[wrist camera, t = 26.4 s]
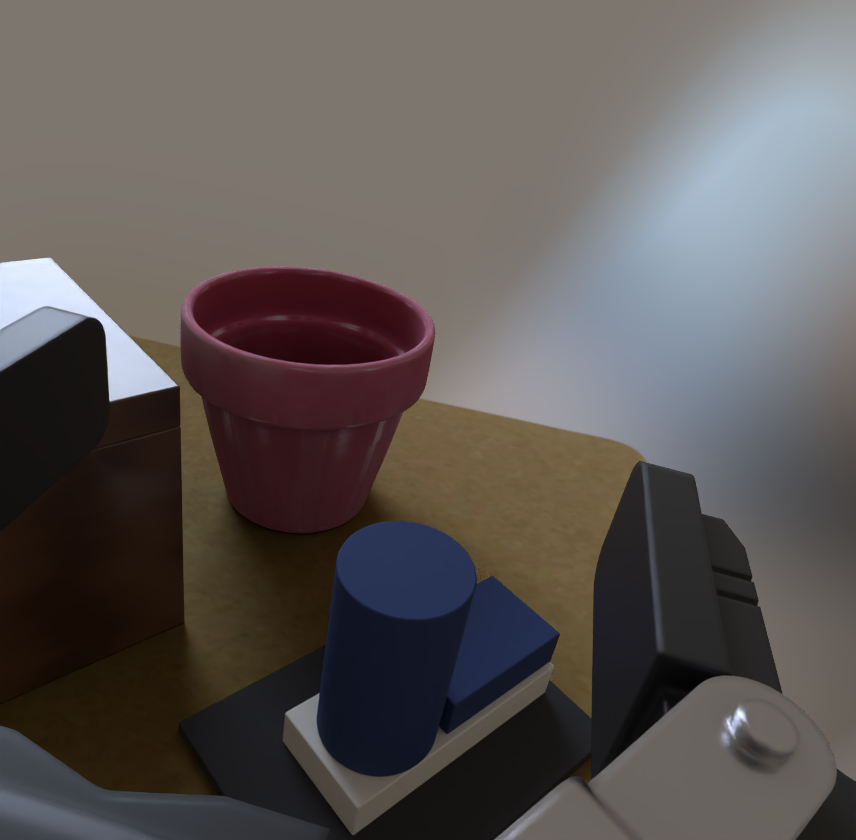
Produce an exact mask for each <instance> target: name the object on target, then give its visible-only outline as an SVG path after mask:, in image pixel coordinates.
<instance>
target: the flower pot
mask: <svg viewBox="0 0 856 840" xmlns="http://www.w3.org/2000/svg"><path fill="white" fill-rule="evenodd" d="M434 337H435V327H434V323H433V321H432V319H431V317H430V316H429V315H428V313H427V312H426V311H425V310H424V309H423V308H422V307H421V306H420V305H419V304H418V303H416V302H415V301H414V300H412V299H411V298H409V297H407V296H406V295H404V294H402V293H400V292H399V291H396V290H394V289H392V288H390V287H388V286H385V285H382V284H380V283H377V282H374V281H371V280H368V279H365V278H361V277H357V276H354V275H349V274H345V273H340V272H335V271H329V270H322V269H315V268H303V267H280V266H279V267H259V268H248V269H242V270H237V271H232V272H227V273H224V274H220V275H217V276H214V277H212V278H210V279H208V280H206V281H204V282H202V283H200V284H199V285H197V286H196V287H194V288H193V289H192V290H191V291H190V292H189V293H188V294H187V296H186V298H185V299H184V301H183V304H182V308H181V363H182V369H183V372H184V374H185V377H186V379H187V380H188V382H189V384H190V385H191V386H192V387H193V389H194V390H195V391H196V392H197V393H199V394H200V395H201V396H202V400H203V405H204V409H205V413H206V417H207V421H208V425H209V430H210V434H211V437H212V441H213V445H214V449H215V452H216V456H217V459H218V463H219V466H220V470H221V473H222V477H223V481H224V484H225V488H226V493H227V495H228V498H229V500H230V502H231V504H232V505H233V506H234V507H235V509H236V510H237V511H238V512H239V513H240V514H242V515H243V516H244V517H246V518H247V519H249V520H250V521H252V522H254V523H256V524H258V525H261V526H263V527H266V528H270V529H274V530H277V531H283V532H291V533H312V532H319V531H324V530H328V529H332V528H335V527H338V526H340V525H342V524H344V523H346V522H347V521H349V520H350V519H352V518H353V517H354V516H355V515H356V514H357V513H358V512H359V511H360V510H361V509H362V507H363V506H364V504H365V501H366V499H367V496H368V494H369V492H370V489H371V487H372V484H373V482H374V480H375V478H376V475H377V473H378V471H379V469H380V467H381V464H382V462H383V460H384V457H385V455H386V453H387V450H388V448H389V446H390V443H391V441H392V438H393V436H394V433H395V431H396V428H397V426H398V424H399V421H400V418H401V416H402V413H403V412H404V411H405V410H407V409H408V408H410V407H411V406H412V405H413V404H415V403H416V401H417V400H418V399H419V398H420V396H421V395H422V393H423V391H424V389H425V386H426V381H427V377H428V372H429V367H430V361H431V356H432V350H433V345H434Z"/></svg>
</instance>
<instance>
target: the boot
mask: <svg viewBox="0 0 856 840" xmlns="http://www.w3.org/2000/svg"><path fill="white" fill-rule="evenodd" d="M476 581H477V578H476V571H475V567H474V564H473V562H472V560H471V558H470V556H469V555H468V553H467V552H466V551H465V549H464V548H463V547H462V546H461V545H460V544H459V543H458V542H456V541H455V540H454V539H453V538H451V537H450V536H448V535H446V534H445V533H443V532H441V531H439V530H437V529H434V528H432V527H429V526H426V525H423V524H418V523H413V522H406V521H387V522H380V523H376V524H372V525H369V526H366V527H364V528H362V529H360V530H358V531H357V532H355V533H354V534H352V535H351V536H350V537H349V538H348V539H347V540H346V541H345V542H344V544H343V545H342V546H341V548H340V550H339V552H338V555H337V560H336V567H335V575H334V583H333V591H332V599H331V607H330V615H329V623H328V631H327V638H326V646H325V654H324V662H323V670H322V678H321V686H320V693H319V694H317V695H315V696H314V697H312V698H310V699H308V700H307V701H305V702H303V703H301V704H300V705H298V706H296V707H294V708H293V709H291V710H289V711H287V712H286V713H285V722H284V733H283V742H284V743H285V745H286V746H287V747H288V749H289V750H290V751H291V753H292V754H293V755H294V757H295V758H296V760H297V761H298V762H299V764H300V765H301V766H302V768H303V769H304V770H305V772H306V773H307V775H308V776H309V777H310V779H311V780H312V781H313V783H314V784H315V785H316V787H317V788H318V789H319V791H320V792H321V794H322V795H323V796H324V798H325V799H326V800H327V802H328V803H329V804H330V806H331V807H332V809H333V810H334V811H335V813H336V814H337V815H338V817H339V818H340V819H341V821H342V822H343V823H344V825H345V826H346V828H347V829H348V830H349V832H350V833H351V834H352V835H355V834H356V833H357V832H359V831H360V830H361V829H363V828H364V827H365V826H367V825H368V824H369V823H371V822H372V821H373V820H375V819H376V818H377V817H379V816H380V815H381V814H383V813H384V812H385V811H387V810H388V809H389V808H391V807H392V806H393V805H395V804H396V803H397V802H399V801H400V800H401V799H403V798H404V797H405V796H407V795H408V794H409V793H411V792H412V791H413V790H415V789H416V788H417V787H419V786H420V785H421V784H423V783H424V782H426V781H427V780H428V779H430V778H431V777H432V776H434V775H435V774H436V773H438V772H439V771H440V770H442V769H443V768H444V767H446V766H447V765H448V764H450V763H451V762H452V761H454V760H455V759H456V758H458V757H459V756H460V755H462V754H463V753H464V752H466V751H467V750H468V749H470V748H471V747H472V746H474V745H475V744H476V743H478V742H479V741H480V740H482V739H483V738H484V737H486V736H487V735H488V734H490V733H491V732H492V731H494V730H495V729H496V728H498V727H499V726H500V725H502V724H503V723H504V722H506V721H507V720H509V719H510V718H511V717H513V716H514V715H515V714H517V713H518V712H519V711H521V710H522V709H523V708H525V707H526V706H527V705H529V704H530V703H531V702H533V701H534V700H535V699H537V698H538V697H539V696H541V695H542V694H543V693H545V691H546V688H547V685H548V682H549V680H550V677H551V674H552V672H553V669H554V665H552V664H551V663H550V660H551V658H552V655H553V652H554V649H555V647H556V644H557V641H558V638H559V636H560V634H559V632H557V631H556V630H555V629H554V628H553V627H552V626H550V625H549V624H548V623H547V622H546V621H545V620H543V619H542V618H541V617H540V616H539V615H538V614H536V613H535V612H534V611H533V610H532V609H531V608H529V607H528V606H527V605H526V604H525V603H524V602H522V601H521V600H520V599H519V598H518V597H517V596H515V595H514V594H513V593H512V592H511V591H510V590H508V589H507V588H506V587H505V586H504V585H503V584H501V583H500V582H499V581H498V580H497V579H496V578H494V577H493V576H491V577H489V578H487V579H486V580H484V581H482V582H480V583H478V584H477V585H476Z"/></svg>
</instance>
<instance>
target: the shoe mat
mask: <svg viewBox="0 0 856 840" xmlns="http://www.w3.org/2000/svg"><path fill="white" fill-rule="evenodd" d="M325 646H326V645H325ZM325 646H323V647H321V648H319V649H317V650H315V651H313V652H312V653H310V654H308V655H306V656H304V657H302V658H300V659H298V660H296V661H294V662H293V663H291V664H289V665H287V666H285V667H283V668H281V669H279V670H277V671H276V672H274V673H272V674H270V675H268V676H266V677H264V678H262V679H260V680H259V681H257V682H255V683H253V684H251V685H249V686H247V687H245V688H243V689H242V690H240V691H238V692H236V693H234V694H232V695H230V696H228V697H226V698H225V699H223V700H221V701H219V702H217V703H215V704H213V705H211V706H209V707H207V708H206V709H204V710H202V711H200V712H198V713H196V714H194V715H192V716H190V717H189V718H187V719H185V720H183V721H181V722H179V732H180V733H181V735H182V737H183V738H184V740H185V741H186V743H187V744H188V746H189V748H190V749H191V751H192V752H193V754H194V756H195V757H196V759H197V760H198V762H199V764H200V765H201V767H202V768H203V770H204V772H205V773H206V775H207V776H208V778H209V780H210V781H211V783H212V784H213V786H214V787H215V789H216V791H217V792H218V794H219V795H220V796H226V797H230V798H233V799H236V800H239V801H242V802H246V803H249V804H252V805H255V806H258V807H262V808H265V809H268V810H271V811H274V812H278V813H281V814H284V815H287V816H290V817H294V818H297V819H300V820H303V821H306V822H309V823H313V824H316V825H319V826H322V827H325V828H329V829H330V830H329V836H328V840H495V839H496V838H497V837H498V836H499V835H500V834H502V833H503V832H504V831H505V830H506V829H507V828H509V827H510V826H511V825H512V824H513V823H514V822H516V821H517V820H518V819H519V818H520V817H521V816H523V815H524V814H525V813H526V812H527V811H528V810H530V809H531V808H532V807H533V806H534V805H535V804H537V803H538V802H539V801H540V800H541V799H542V798H544V797H545V796H546V795H547V794H548V793H549V792H551V791H552V790H553V789H554V788H555V787H557V786H558V785H559V784H560V783H561V782H562V781H563V780H565V779H566V778H567V777H568V776H569V775H570V774H571V773H573V772H574V771H575V770H576V769H577V768H578V767H579V766H580V765H582V764H583V763H584V762H585V761H586V760H587V759H588V758H590V757H591V730H592V719H591V718H590V717H589V716H588V715H587V714H586V713H585V712H584V711H583V710H581V709H580V708H579V707H578V706H577V705H576V704H575V703H574V702H573V701H572V700H571V699H569V698H568V697H567V696H566V695H565V694H564V693H563V692H562V691H561V690H560V689H559V688H558V687H556V686H555V685H554V684H553V683H552V682H551V681H550V680H549V682H548V685H547V688H546V691H545V693H543V694H542V695H541V696H539V697H538V698H537V699H535V700H534V701H533V702H531V703H530V704H529V705H527V706H526V707H525V708H523V709H522V710H521V711H519V712H518V713H517V714H515V715H514V716H513V717H511V718H510V719H509V720H507V721H506V722H504V723H503V724H502V725H500V726H499V727H498V728H496V729H495V730H494V731H492V732H491V733H490V734H488V735H487V736H486V737H484V738H483V739H482V740H480V741H479V742H478V743H476V744H475V745H474V746H472V747H471V748H470V749H468V750H467V751H466V752H464V753H463V754H462V755H460V756H459V757H458V758H456V759H455V760H454V761H452V762H451V763H450V764H448V765H447V766H446V767H444V768H443V769H442V770H440V771H439V772H438V773H436V774H435V775H434V776H432V777H431V778H430V779H428V780H427V781H426V782H424V783H423V784H421V785H420V786H419V787H417V788H416V789H415V790H413V791H412V792H411V793H409V794H408V795H407V796H405V797H404V798H403V799H401V800H400V801H399V802H397V803H396V804H395V805H393V806H392V807H391V808H389V809H388V810H387V811H385V812H384V813H383V814H381V815H380V816H379V817H377V818H376V819H375V820H373V821H372V822H371V823H369V824H368V825H367V826H365V827H364V828H363V829H361V830H360V831H359V832H357V833H356V834H355V835H352V834H351V833H350V832H349V830H348V829H347V828H346V826H345V825H344V823H343V822H342V821H341V819H340V818H339V817H338V815H337V814H336V813H335V811H334V810H333V809H332V807H331V806H330V804H329V803H328V802H327V800H326V799H325V798H324V796H323V795H322V794H321V792H320V791H319V789H318V788H317V787H316V785H315V784H314V783H313V781H312V780H311V779H310V777H309V776H308V775H307V773H306V772H305V770H304V769H303V768H302V766H301V765H300V764H299V762H298V761H297V760H296V758H295V757H294V755H293V754H292V753H291V751H290V750H289V749H288V747H287V746H286V745H285V743H284V742H283V733H284V722H285V713H286V712H287V711H289V710H291V709H293V708H294V707H296V706H298V705H300V704H301V703H303V702H305V701H307V700H308V699H310V698H312V697H314V696H315V695H317V694H319V693H320V686H321V678H322V670H323V662H324V654H325Z"/></svg>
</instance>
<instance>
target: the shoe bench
mask: <svg viewBox="0 0 856 840" xmlns="http://www.w3.org/2000/svg"><path fill="white" fill-rule="evenodd" d="M44 306H50V307H54V308H58V309H62V310H66V311H70V312H74V313H77V314H81V315H85V316H89V317H93V318H96V319H98V320H99V321H100V322H101V323H102V325H103V327H104V330H105V335H106V349H107V366H108V383H109V401H110V415H109V421H108V425H107V428H106V431H105V433H104V435H103V437H102V439H101V441H100V442H99V444H98V445H97V446H96V447H95V448H94V449H93V450H92V451H91V452H90V453H89V454H88V455H86V456H85V457H84V458H83V459H82V460H81V461H80V462H79V463H77V464H76V465H75V466H74V467H73V468H72V469H71V470H70V471H68V472H67V473H66V474H65V475H64V476H63V477H62V478H61V479H59V480H58V481H57V482H56V483H55V484H54V485H53V486H52V487H50V488H49V489H48V490H47V491H46V492H45V493H44V494H42V495H41V496H40V497H39V498H38V499H37V500H36V501H35V502H33V503H32V504H31V505H30V506H29V507H28V508H27V509H26V510H24V511H23V512H22V513H21V514H20V515H19V516H18V517H17V518H15V519H14V520H13V521H12V522H11V523H10V524H9V525H8V526H6V527H5V528H4V529H3V530H2V531H1V532H0V703H2V702H4V701H7V700H9V699H11V698H13V697H16V696H18V695H20V694H22V693H25V692H27V691H29V690H31V689H34V688H36V687H38V686H41V685H43V684H45V683H47V682H50V681H52V680H54V679H56V678H59V677H61V676H63V675H65V674H68V673H70V672H72V671H74V670H77V669H79V668H81V667H84V666H86V665H88V664H90V663H93V662H95V661H97V660H99V659H102V658H104V657H106V656H108V655H111V654H113V653H115V652H118V651H120V650H122V649H124V648H127V647H129V646H131V645H133V644H136V643H138V642H140V641H142V640H145V639H147V638H149V637H151V636H154V635H156V634H158V633H161V632H163V631H165V630H167V629H170V628H172V627H174V626H176V625H179V624H181V623H183V622H184V585H183V533H182V480H181V428H180V387H179V385H178V384H177V383H176V382H175V381H174V380H173V379H172V378H171V377H170V376H169V375H168V374H167V373H166V372H165V371H164V370H163V369H162V368H161V367H160V366H159V365H158V364H157V363H156V362H155V361H154V360H153V359H152V358H151V357H150V356H149V355H148V354H147V353H146V352H145V351H144V350H143V349H142V348H141V347H140V346H139V345H138V344H137V343H136V342H135V341H134V340H133V339H132V338H131V337H130V336H129V335H128V334H127V333H126V332H125V331H124V330H123V329H122V328H121V327H120V326H118V325H117V323H116V322H115V321H113V319H112V318H111V317H110V316H109V315H108V314H107V313H105V311H104V310H102V308H101V307H100V306H98V304H97V303H96V302H95V301H94V300H93V299H92V298H90V297H89V295H87V294H86V292H84V290H83V289H82V288H80V286H79V285H78V284H77V283H76V282H75V281H73V280H72V278H71V277H70V276H69V275H68V274H66V273H65V271H63V270H62V268H60V266H59V265H57V264H56V262H55V261H54V260H52V258H43V259H34V260H24V261H14V262H4V263H0V329H2V328H4V327H5V326H7V325H9V324H11V323H13V322H15V321H16V320H18V319H20V318H22V317H24V316H25V315H27V314H29V313H31V312H33V311H35V310H36V309H38V308H40V307H44Z"/></svg>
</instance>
